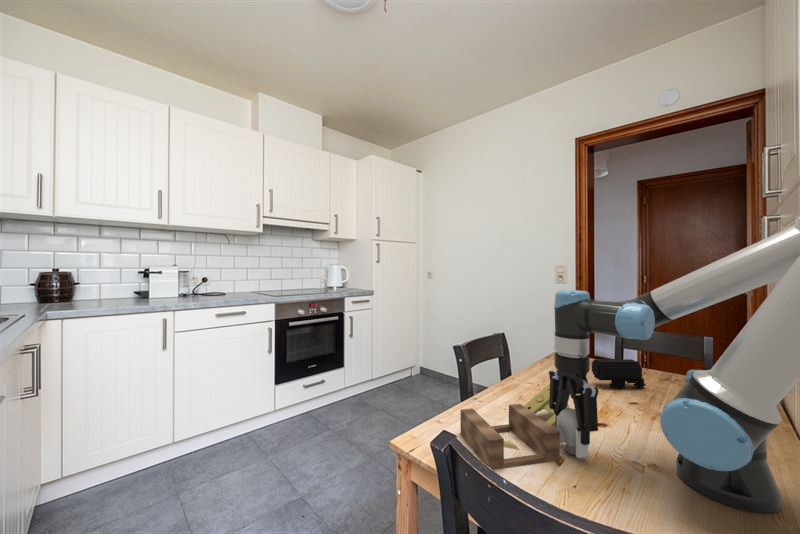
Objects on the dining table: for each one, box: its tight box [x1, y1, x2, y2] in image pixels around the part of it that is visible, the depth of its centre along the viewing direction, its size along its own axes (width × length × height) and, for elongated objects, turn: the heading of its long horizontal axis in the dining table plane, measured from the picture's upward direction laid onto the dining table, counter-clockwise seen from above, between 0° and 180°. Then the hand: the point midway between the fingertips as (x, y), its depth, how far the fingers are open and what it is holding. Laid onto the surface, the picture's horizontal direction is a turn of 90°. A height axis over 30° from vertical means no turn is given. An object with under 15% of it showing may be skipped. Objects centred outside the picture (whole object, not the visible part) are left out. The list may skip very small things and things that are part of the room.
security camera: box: [591, 358, 647, 389], centre depth 123 cm, size 7×18×10 cm, turn 89°
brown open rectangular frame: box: [460, 403, 561, 471], centre depth 80 cm, size 16×18×7 cm
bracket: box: [523, 383, 570, 427], centre depth 94 cm, size 10×14×10 cm
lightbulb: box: [558, 407, 585, 455], centre depth 78 cm, size 6×6×11 cm
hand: (571, 448), depth 78 cm, fingers closed on lightbulb, 6 cm apart
